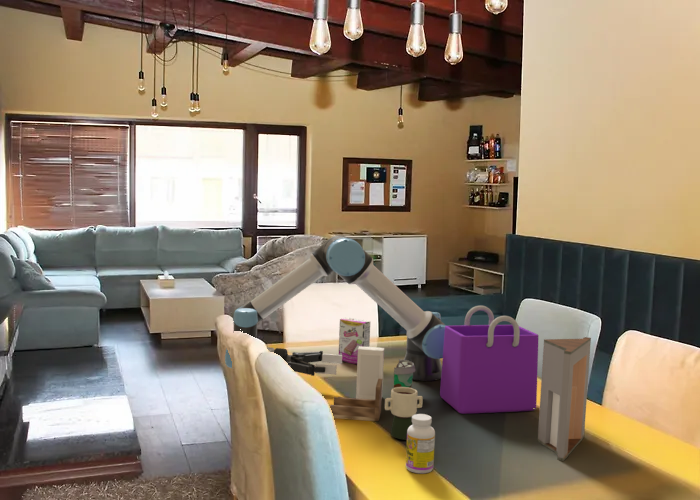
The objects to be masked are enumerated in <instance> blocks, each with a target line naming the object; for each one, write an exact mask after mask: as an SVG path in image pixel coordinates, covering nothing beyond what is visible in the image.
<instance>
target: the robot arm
mask: <svg viewBox="0 0 700 500" xmlns="http://www.w3.org/2000/svg"><path fill="white" fill-rule="evenodd" d="M309 255H310V256H309V258H308V259H306V260H305V261H304V262H303V263H301V264H300V265H298V266H297V267H295V268H294V269H293V270H291V271H290V272H288V273H287V274H286V275H284V276H283V277H282V278H280V279H279V280H277V281H276V282H275V283H274V284H272V285H271V286H270V287H268V288H267V289H266V290H264V291H262V292H261V293H260V294H258V295H257V296H255V298H253V299H252V300H251V301H249V302H248V303H246V304H245V305H244V306H243V305H242V306H240V307H238V308H237V309H235V311H234V313H233V315H232V322H233V321H234V322H233V332H234V331H241V332H242V331H243V333H247V334H249V335H251V336H253V337H255V338H257V336H258V324H259V323H260V322H262V321H263V320H265V318H267V317H268V316H270V315H271V314H272V313H274V312H275V311H277V310H278V309H279V308H280V307H282V306H283V305H285V304H286V303H287V302H288V301H290V300H292V299H293V298H294V297H296V296H297V295H299V294H300V293H301V292H302V291H304V290H306V289H307V288H308V287H310V286H311V285H312V284H314V283H315V282H317V281H318V280H319V279H320V278H322V277H328V276H330V275H331V274H332V273H336V274H337V275H338V276H340V278H342V280H344V281H345V282H346V283H347V284H348V285H356V286H357V287H358V288H360V289H361V290H362V291H363V293H365V294H366V295H367V296H368V297H369V298H370V299H371V300H373V301H374V302H375V303H376V304H377V305H378V306H379V307H380V308H381V309H383V310H384V312H385V313H387V314H388V315H389V316H390V317H391V318H393V320H394V321H396V323H398V324H399V325H400V326H401V327H402V328H404V330H406V352H405V356H404V358H403V360H408V361H411V362H413V363H414V366H415V372H413V378H412V381H413V380H414V381H422V382H425V381H426V382H428V381H439V380H441V374H442V362H441V359H443V347H444V334H445V326H447V325H446V324H445V323H444V322H442V318H441V317H442V316H441V313H440V312H437V311H435V312H434V311H429V310H426V311H424V310H423V309H422V308H421V307H420V306H419V305H417V303H416V302H414V301H413V300H412V299H411V298H410V297H409V296H408V295H407V294H405V292H403V291H402V290H401V289H400V288H399V287H398V286H397V285H396V284H395V283H394V282H393V281H392V280H390V279H389V277H388V276H386V275H385V274H384V273H383V272H382V271H381V270H380V269H378V268H377V267H376V266H375V265H374V258H373V256H371V255H370V254H369V253H368V252H366V249H365V250H364V248H363V247H362V245H361V244H360V243H359V242H358V241H356V240H355V239H353V238H350V237H348V236H344V235H335V236H332V237H330V238H329V239H327V240H326V241H325V242H323V244H321V245H320V246H319V247H318V248H316V249H314V251H312V252H311V253H310V254H309ZM240 329H241V330H240ZM267 349H268V350H269V351H270V352H274V353H276V354H278V355H280V356H281V357H282V358H283V359H284V360H285V361H286V362H287V363H288V365H289V366H290V367H291V368H292V369H293V370H294V371H293V372H296V373H301V374H304V375H307V376H308V375H309V376H311V377H314V376H315V374H320V375H321V374H324V375H337V365H335V364H338V365H339V364H341V365H342V364H343V362H342V355H339V354H332V353H324V352H323V350H320V351H310V352H307V351H306V352H304V351H303V352H295V351H293V352H292V354H288V353H289V352H288V349H286V348H282V347H281V348H280V347H277V348H274V347H267ZM224 362H225V366H226V367H227V368H230V369H233V368H232V361H231V358H230V355H229V353H228V350H227V348H226V349H225V355H224ZM316 362H317V363H316ZM319 362H321V363H323V364H320V363H319ZM313 363H315V364H313ZM324 363H328V364H324Z"/></svg>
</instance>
